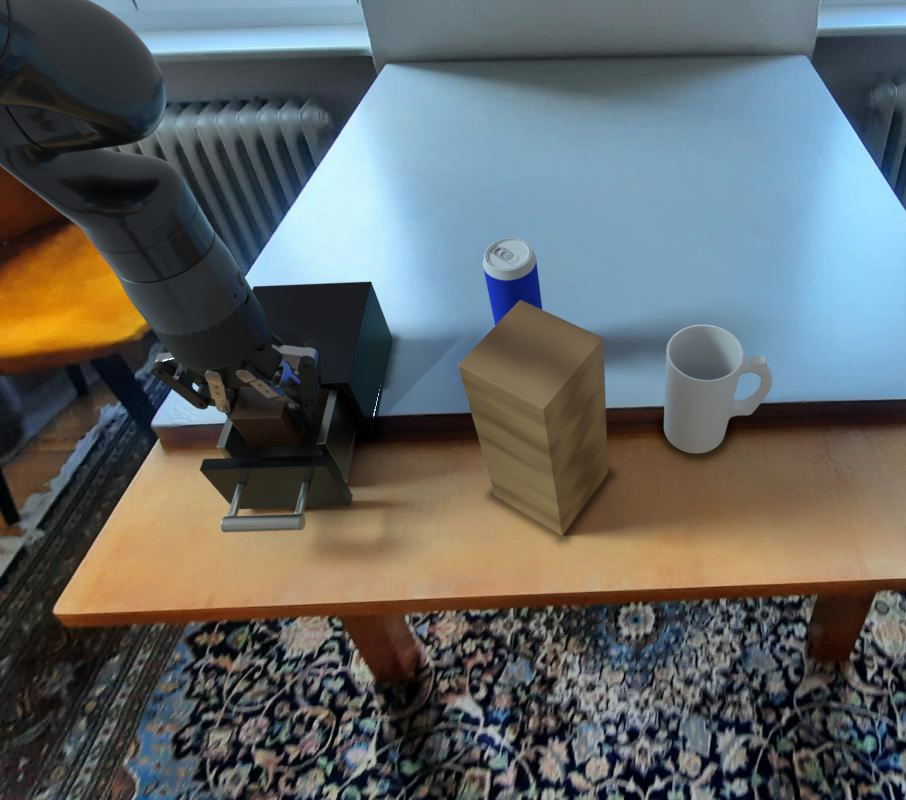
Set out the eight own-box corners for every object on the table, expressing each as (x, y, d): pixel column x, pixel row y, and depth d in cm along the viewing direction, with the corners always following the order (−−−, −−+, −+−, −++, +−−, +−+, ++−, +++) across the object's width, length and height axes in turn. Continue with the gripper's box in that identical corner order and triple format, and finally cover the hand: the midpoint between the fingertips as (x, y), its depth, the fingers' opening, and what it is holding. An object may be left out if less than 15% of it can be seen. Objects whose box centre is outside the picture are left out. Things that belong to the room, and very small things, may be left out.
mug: (662, 456, 73) (668, 382, 63) (659, 402, 77) (664, 324, 67) (764, 455, 72) (786, 380, 63) (756, 401, 76) (775, 322, 67)
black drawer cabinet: (374, 437, 76) (347, 382, 69) (254, 441, 76) (216, 387, 69) (393, 338, 84) (371, 281, 77) (285, 343, 85) (253, 286, 77)
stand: (562, 536, 68) (543, 409, 52) (494, 496, 71) (457, 364, 55) (608, 473, 72) (603, 337, 56) (542, 438, 75) (520, 299, 59)
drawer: (341, 551, 67) (315, 513, 62) (220, 554, 68) (182, 517, 62) (372, 401, 78) (351, 357, 72) (266, 405, 78) (237, 361, 72)
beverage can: (556, 349, 82) (545, 246, 70) (530, 380, 80) (514, 279, 68) (519, 332, 84) (502, 229, 72) (492, 362, 81) (470, 260, 69)
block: (299, 445, 67) (280, 417, 63) (250, 447, 67) (229, 419, 64) (309, 406, 70) (292, 376, 66) (262, 407, 70) (243, 378, 66)
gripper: (80, 335, 53) (192, 462, 66) (276, 328, 52) (348, 457, 66) (118, 263, 57) (216, 396, 71) (299, 256, 57) (362, 390, 70)
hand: (279, 424), depth 68 cm, fingers closed on block, 4 cm apart
